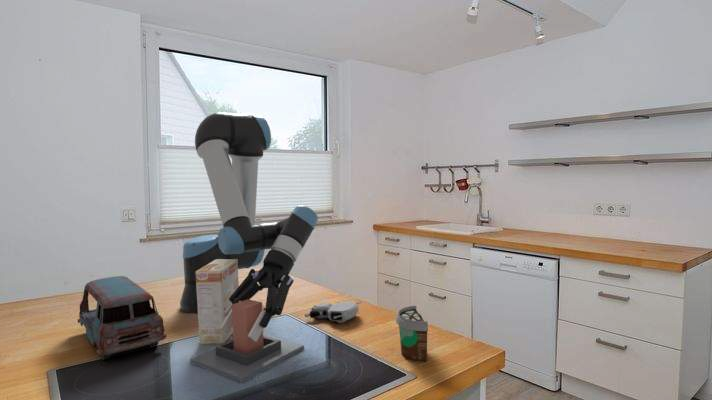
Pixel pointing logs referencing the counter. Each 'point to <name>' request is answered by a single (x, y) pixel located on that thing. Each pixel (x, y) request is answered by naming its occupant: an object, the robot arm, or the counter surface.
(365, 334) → the counter surface
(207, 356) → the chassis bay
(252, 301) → the salmon pink rectangular block
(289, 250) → the robot arm
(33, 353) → the counter surface
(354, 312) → the robot toy
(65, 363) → the counter surface
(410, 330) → the food container
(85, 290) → the toy van
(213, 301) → the coffeecake box
